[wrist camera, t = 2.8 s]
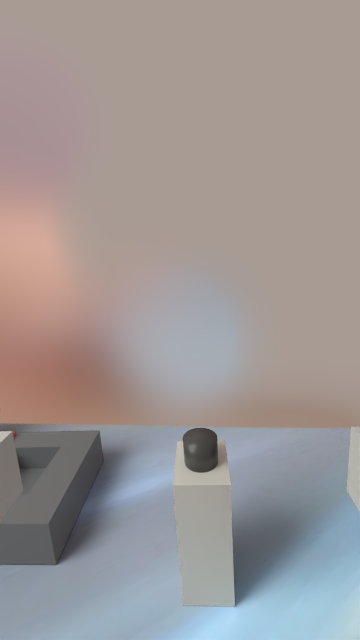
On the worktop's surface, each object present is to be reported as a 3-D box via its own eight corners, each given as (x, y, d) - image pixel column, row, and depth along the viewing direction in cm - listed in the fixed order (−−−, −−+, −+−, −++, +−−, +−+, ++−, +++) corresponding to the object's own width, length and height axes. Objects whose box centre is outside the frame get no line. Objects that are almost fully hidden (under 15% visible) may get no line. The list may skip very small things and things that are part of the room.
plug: (228, 545, 28) (223, 419, 25) (234, 606, 23) (229, 459, 20) (185, 545, 29) (176, 420, 26) (182, 605, 24) (170, 460, 21)
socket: (103, 460, 41) (98, 426, 40) (56, 564, 28) (47, 518, 26) (4, 461, 42) (-3, 429, 41) (-88, 563, 29) (-103, 518, 27)
